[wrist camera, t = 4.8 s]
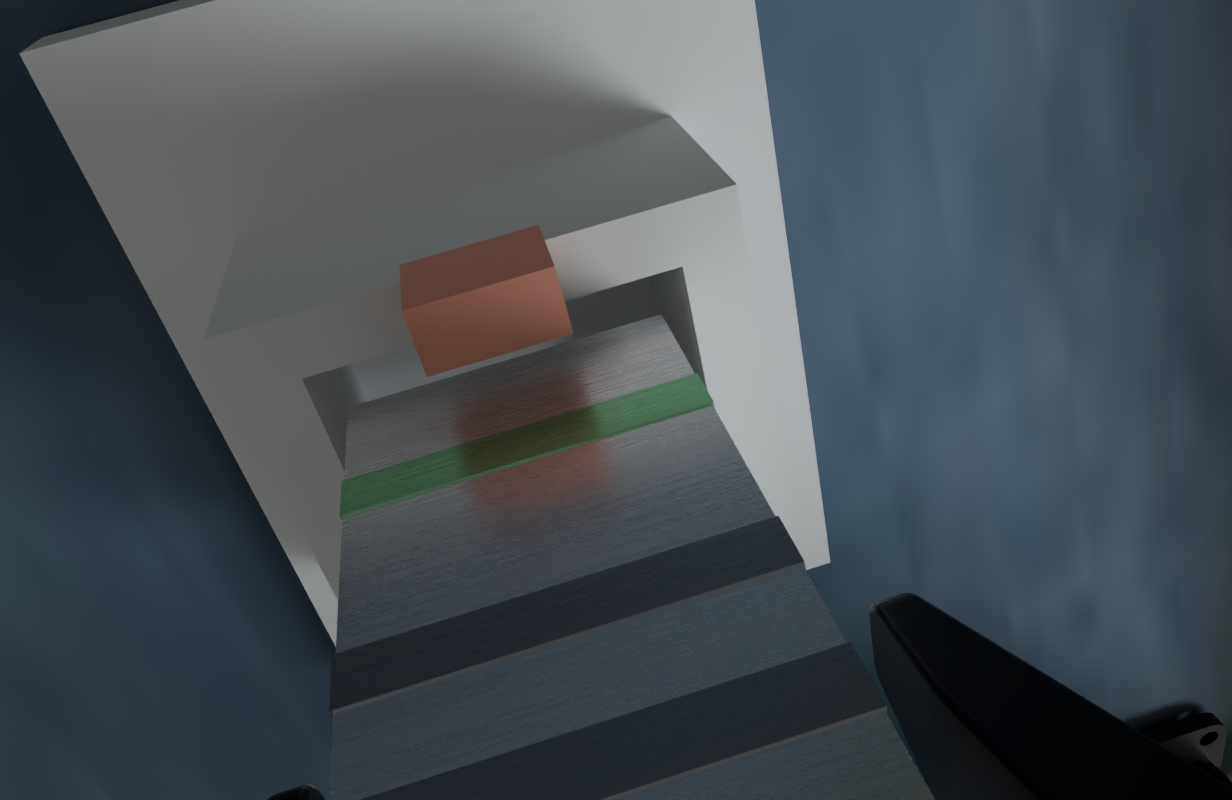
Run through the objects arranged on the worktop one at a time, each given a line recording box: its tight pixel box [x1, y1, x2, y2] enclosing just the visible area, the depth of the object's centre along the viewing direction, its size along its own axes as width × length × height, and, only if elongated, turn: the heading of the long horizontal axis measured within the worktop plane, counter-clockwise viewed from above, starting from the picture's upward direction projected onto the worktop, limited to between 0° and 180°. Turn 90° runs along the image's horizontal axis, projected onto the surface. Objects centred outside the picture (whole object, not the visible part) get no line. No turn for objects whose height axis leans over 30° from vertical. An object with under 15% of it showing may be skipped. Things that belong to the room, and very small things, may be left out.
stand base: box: [19, 0, 830, 646], centre depth 14 cm, size 9×12×5 cm
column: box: [329, 314, 935, 800], centre depth 9 cm, size 4×4×9 cm
